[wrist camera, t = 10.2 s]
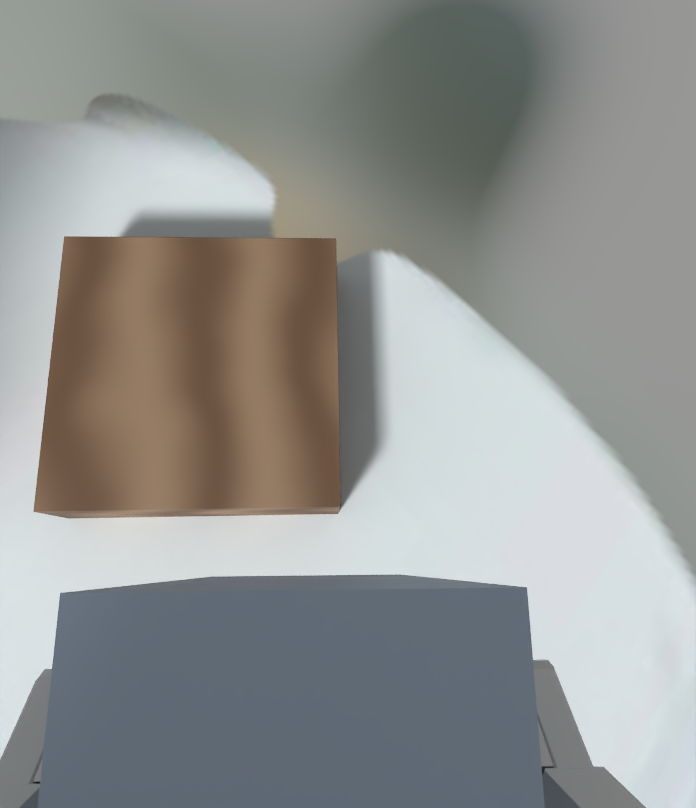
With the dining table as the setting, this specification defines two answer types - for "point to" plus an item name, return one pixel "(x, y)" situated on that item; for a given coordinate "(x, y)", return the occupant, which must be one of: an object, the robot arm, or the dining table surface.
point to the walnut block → (192, 379)
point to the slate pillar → (293, 695)
